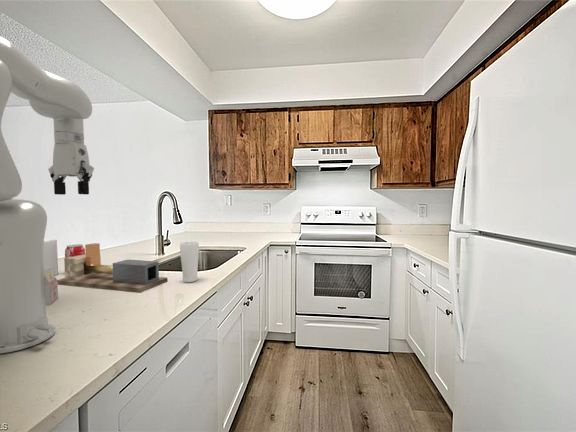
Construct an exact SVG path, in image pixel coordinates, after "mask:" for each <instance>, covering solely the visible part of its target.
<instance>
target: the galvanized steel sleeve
mask: <svg viewBox="0 0 576 432" xmlns="http://www.w3.org/2000/svg"><path fill="white" fill-rule="evenodd" d="M159 263H160V262H159V261H158V260H157V261H156V260H140V259H124V260H121V261H117V262H113V263H112V266H113V282H116V283H127V284H138V285H147V284H150V283H152V282H155V281H157V280H159V277H160V273H159V272H160V269H159V267H160V265H159Z"/></svg>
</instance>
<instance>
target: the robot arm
mask: <svg viewBox="0 0 576 432" xmlns="http://www.w3.org/2000/svg"><path fill="white" fill-rule="evenodd" d="M11 94H13V95H14V96H16V97H18V98H21V99H24V100H26V101H28V103H29V105H30V106H31V109H32V110H33V111H34V112H35V113H36V114H38V115H39V116H41V117H45V118H48V119H52V120H53V136H54V137H53V139H54V146H53V151H52V153H53V155H52V165H51V166H50V167H49V168H48V169H47V170H48V172H49V174H50V178H51V179H52V180H51V181H52V182H53V193H54V195H62V196H64V195H66V193H67V192H66V189H67V187H66V182H65V179H66V178H67V177H73V178H75V177H76V178H77V179H78V180H77V192H78V193H77V194H78V195H90V188H89V187H90V184H89V183H90V181H91V178H92V177H93V172H94V169H95V167H94V166H92V165H90V157H89V151H88V148H87V145H86V144H85V134H84V133H85V132H84V131H85V130H84V120H86V119H89V118H90V117H91V115H92V113H93V105H92V101H91V100H90V97H89V96H88V94H87V93H86V92H85V91H84V90H83V89H82V88H81V87H80V86H79V85H78V84H77V83H75V82H73V81H71V80H69V79H67V78H64V77H62V76H60V75H56V74H54V73H53V72H50V71H47V70H45V69H42V68H39V66H38V65H36V63H34V62H33V61H32V60H31V59H30V58H29V57H28V56H26V55H25V54H24V53H23V52H22V51H21V50H20V49H19V48H18V47H17V46H16V45H14V44H13V43H12V42H11V41H9V40H8V39H7V38H5V37H3V36H1V35H0V354H6V353H11V352H17V351H20V350H24V349H27V348H30V347H34V346H36V345H39V344H41V343H44V342H45V341H47V340H49V339H51V338H52V337H53V336H54V334H55V333H56V327H55V325H53V324H51V323H49V318H48V317H47V310H46V309H47V308H46V307H47V305H45V284H44V264H43V245H44V239H45V235H46V230H47V225H48V224H47V223H48V215H47V212H46V210H45V208H44V207H43V206H42V205H40V203H37V202H35V201H32V200H28V199H19V198H18V199H16V198H17V197H18V196H19V195H20V194H21V193H22V190H23V184H22V183H23V181H22V179H21V176H20V173H19V171H18V169H17V166H16V164H15V161H14V159H13V157H12V155H11V153H10V150H9V148H8V146H7V142H6V141H5V138H4V134H3V132H2V120H3V115H4V112H5V108H6V106H7V103H8V101H9V98H10V95H11Z"/></svg>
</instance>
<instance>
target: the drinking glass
mask: <svg viewBox="0 0 576 432" xmlns="http://www.w3.org/2000/svg"><path fill="white" fill-rule="evenodd" d="M179 248H180V251H179V252H180V255H179V256H180V262H181V269H182V270H181V271H182V282H184V283H194V282H197V280H198V268H199V254H200V252H199V250H200V248H199V242H198V241H184V242H183V241H182V242H180V247H179Z"/></svg>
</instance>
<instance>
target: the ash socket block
mask: <svg viewBox="0 0 576 432" xmlns="http://www.w3.org/2000/svg"><path fill="white" fill-rule="evenodd" d="M63 262H64V264H63V265H64V278H65V279H68V280H80V279H84V278H88V277H91V276H95V275H98V274H101V273H92V272H84V263H85V264H86V253H85V254H84V255H79V256H74V257H68V258H65V257H64V261H63ZM98 265H102V262H101V258H100V264H98Z"/></svg>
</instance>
